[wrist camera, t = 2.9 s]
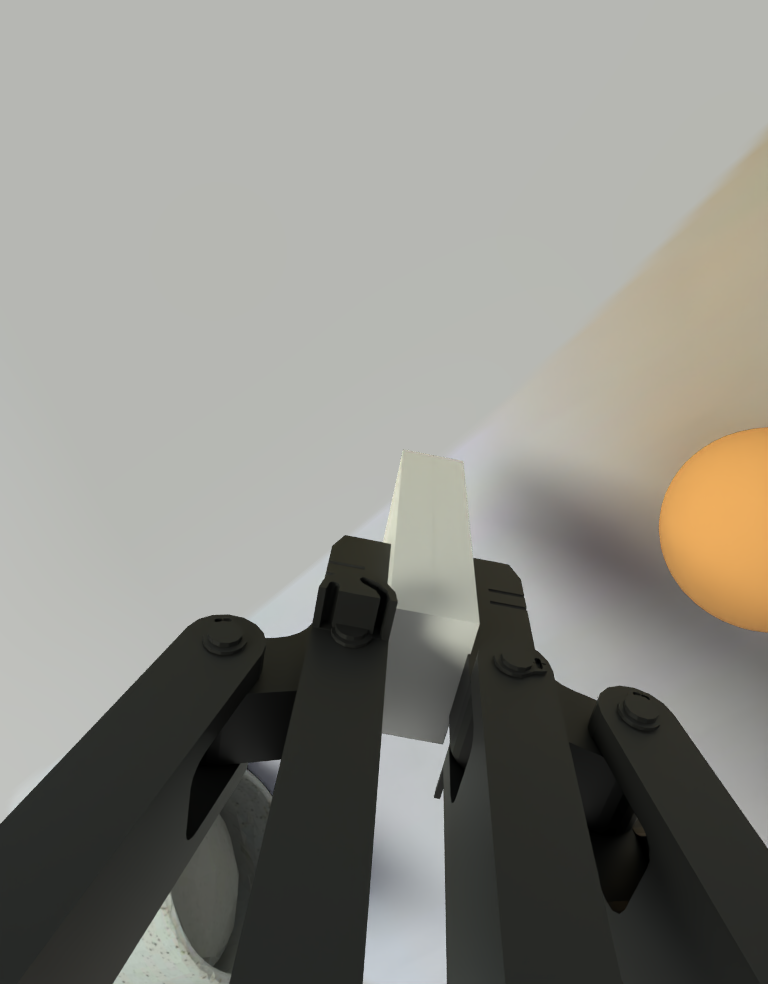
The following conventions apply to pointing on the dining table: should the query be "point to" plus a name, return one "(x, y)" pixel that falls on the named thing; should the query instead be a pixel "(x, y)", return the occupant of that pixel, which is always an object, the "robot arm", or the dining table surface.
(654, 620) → the dining table surface
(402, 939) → the dining table surface
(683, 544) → the ball
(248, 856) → the ceramic mug
